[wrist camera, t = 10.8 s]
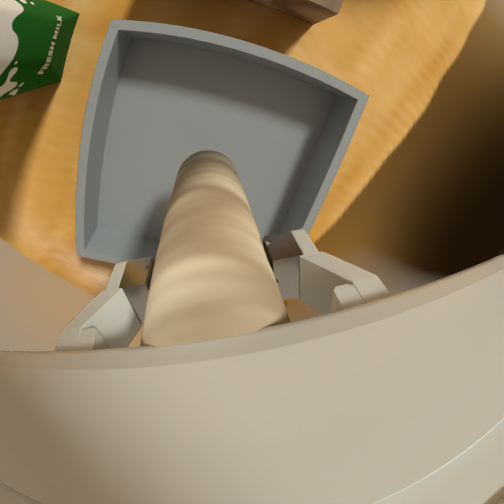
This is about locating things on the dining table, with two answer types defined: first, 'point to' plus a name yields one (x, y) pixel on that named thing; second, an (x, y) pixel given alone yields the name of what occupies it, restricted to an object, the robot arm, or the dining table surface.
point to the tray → (203, 132)
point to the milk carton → (33, 44)
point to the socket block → (305, 8)
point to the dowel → (209, 261)
